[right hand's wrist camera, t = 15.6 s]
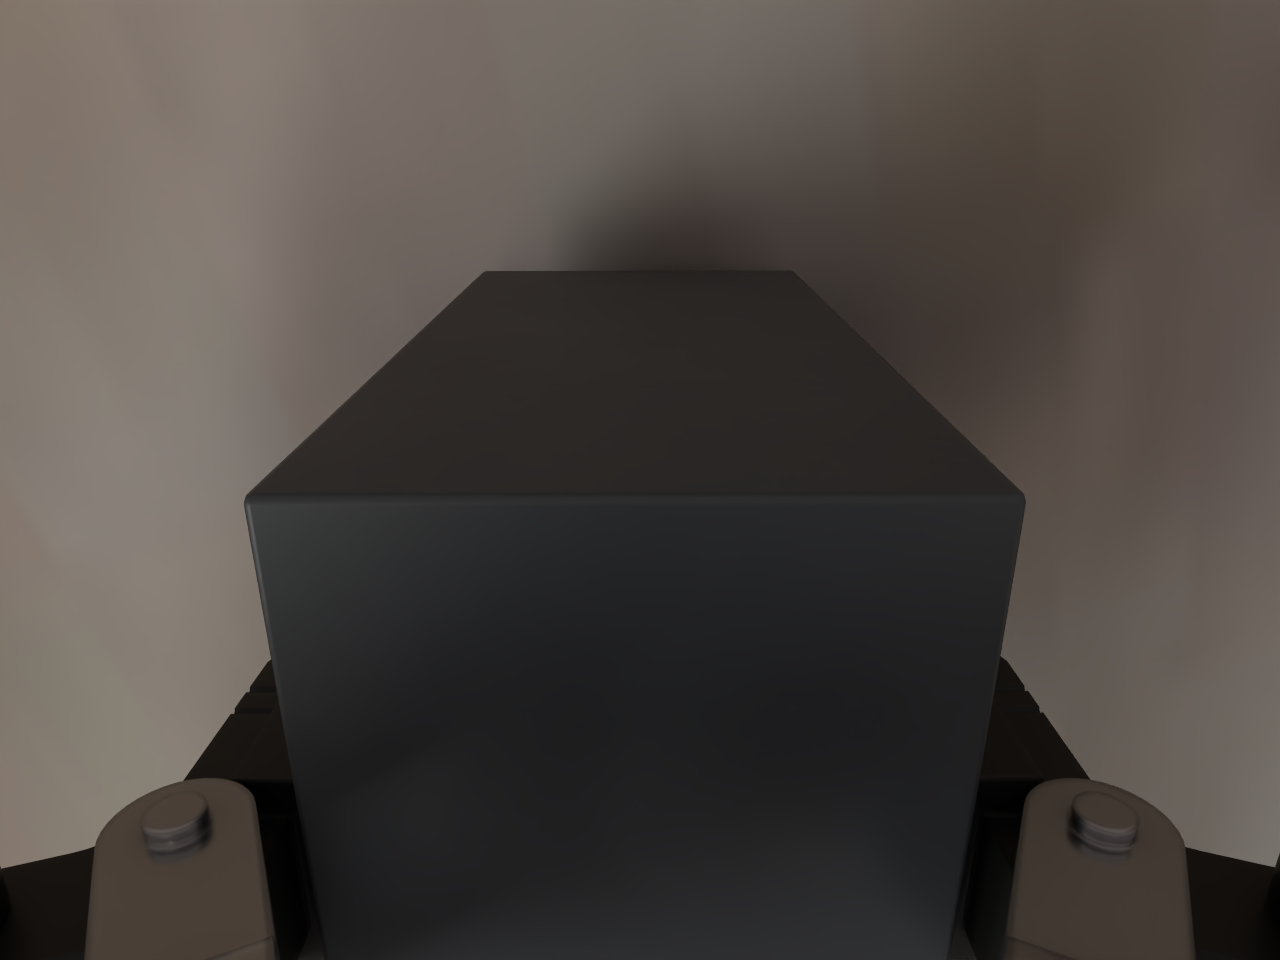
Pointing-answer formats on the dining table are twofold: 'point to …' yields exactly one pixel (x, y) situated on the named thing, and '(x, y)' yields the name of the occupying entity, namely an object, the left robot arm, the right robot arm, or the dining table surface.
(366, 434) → the box
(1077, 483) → the dining table surface
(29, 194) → the dining table surface
